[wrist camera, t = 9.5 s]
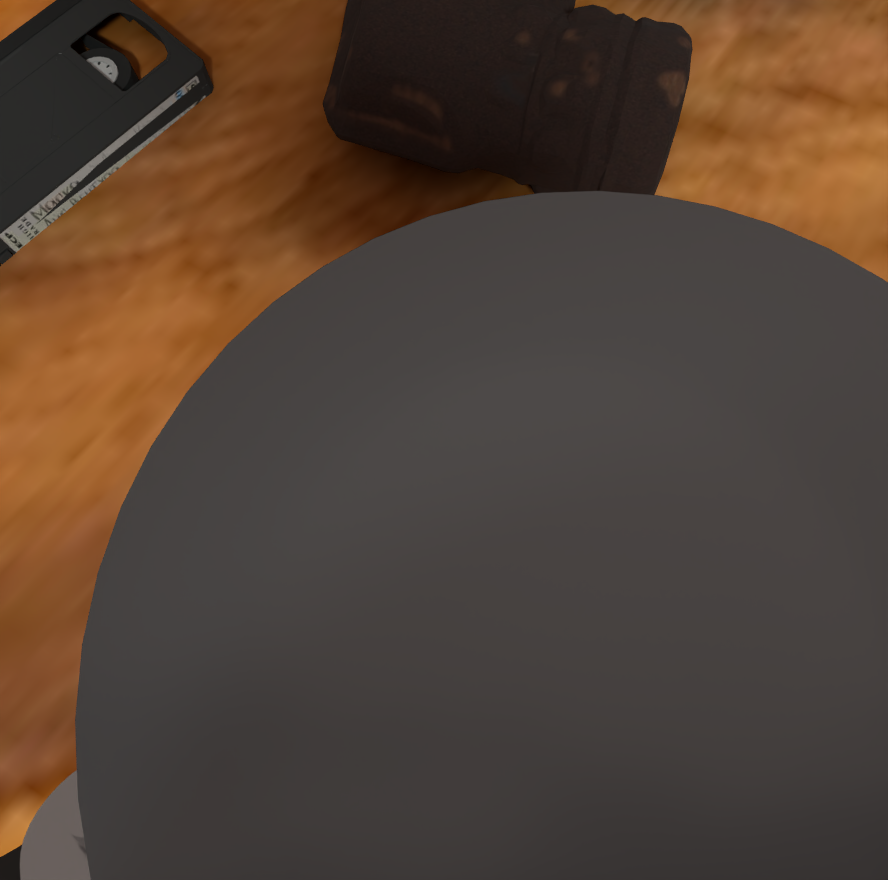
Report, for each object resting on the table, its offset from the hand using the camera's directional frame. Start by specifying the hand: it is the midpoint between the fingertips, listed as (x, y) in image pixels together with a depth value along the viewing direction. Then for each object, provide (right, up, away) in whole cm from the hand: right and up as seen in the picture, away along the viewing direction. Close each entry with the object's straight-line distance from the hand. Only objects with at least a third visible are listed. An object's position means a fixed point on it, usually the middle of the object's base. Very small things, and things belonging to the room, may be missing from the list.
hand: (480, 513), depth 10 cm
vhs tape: (-19, +15, +24) cm, 34 cm away
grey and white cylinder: (0, -3, +4) cm, 5 cm away
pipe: (+3, +18, +24) cm, 31 cm away
